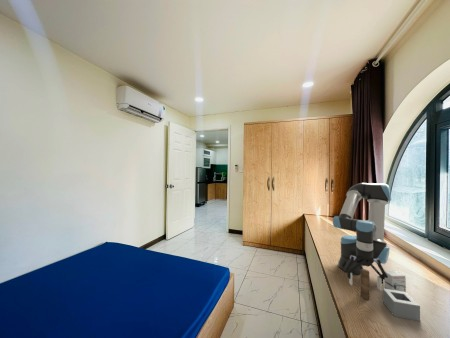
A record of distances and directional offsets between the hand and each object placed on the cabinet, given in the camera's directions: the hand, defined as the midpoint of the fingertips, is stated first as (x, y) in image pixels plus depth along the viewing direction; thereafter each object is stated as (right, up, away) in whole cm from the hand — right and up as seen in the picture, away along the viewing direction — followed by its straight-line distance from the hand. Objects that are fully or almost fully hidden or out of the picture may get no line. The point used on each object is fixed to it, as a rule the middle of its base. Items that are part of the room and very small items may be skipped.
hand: (364, 286), depth 101 cm
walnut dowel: (0, -6, 0) cm, 6 cm away
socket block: (+11, -6, -10) cm, 16 cm away
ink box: (+20, -6, +3) cm, 21 cm away
